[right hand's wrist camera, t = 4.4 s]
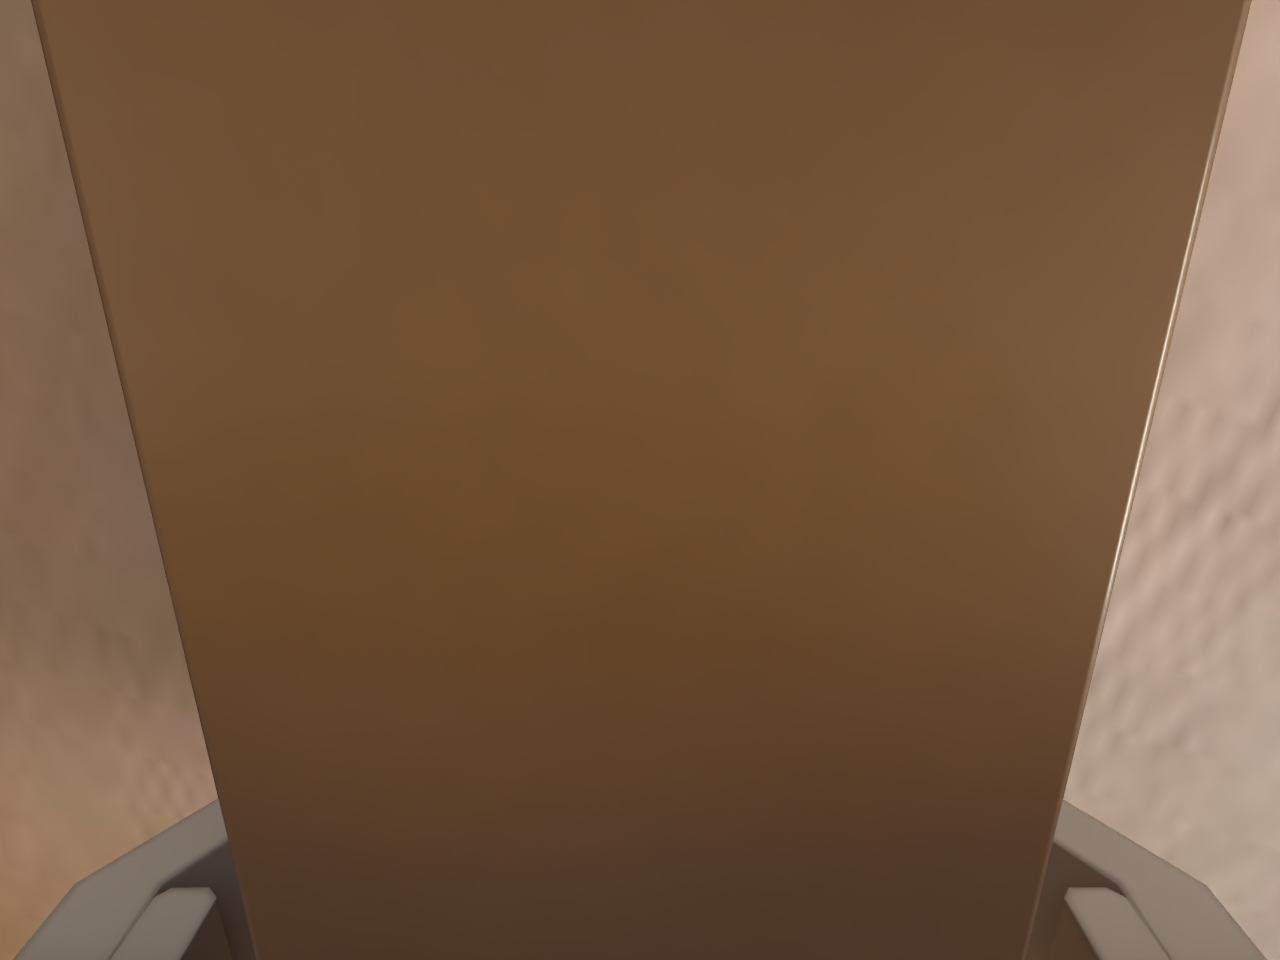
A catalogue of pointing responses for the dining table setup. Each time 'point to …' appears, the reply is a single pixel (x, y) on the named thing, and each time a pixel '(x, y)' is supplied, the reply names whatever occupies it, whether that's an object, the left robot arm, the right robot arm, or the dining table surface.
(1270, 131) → the dining table surface
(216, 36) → the bar
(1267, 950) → the dining table surface
